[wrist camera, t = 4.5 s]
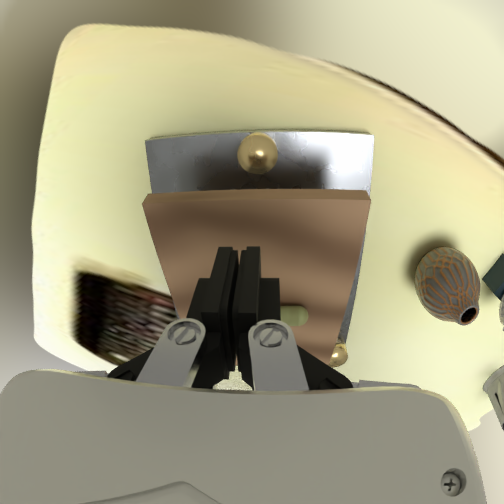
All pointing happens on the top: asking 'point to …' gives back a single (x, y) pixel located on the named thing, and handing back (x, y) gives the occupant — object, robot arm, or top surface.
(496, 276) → the watch
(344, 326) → the base
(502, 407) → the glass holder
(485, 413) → the top surface
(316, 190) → the plate
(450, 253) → the vase
